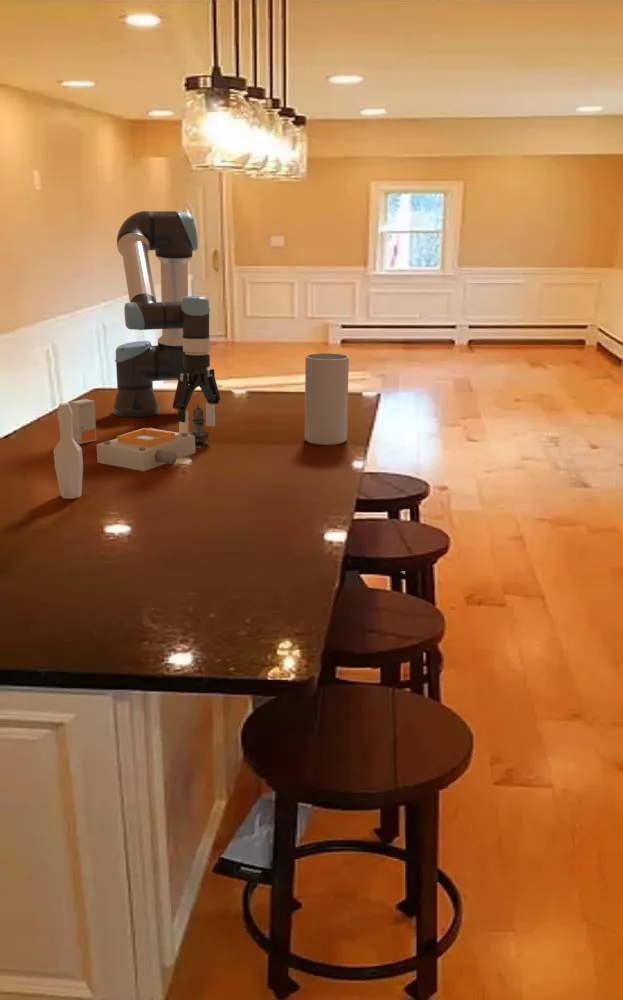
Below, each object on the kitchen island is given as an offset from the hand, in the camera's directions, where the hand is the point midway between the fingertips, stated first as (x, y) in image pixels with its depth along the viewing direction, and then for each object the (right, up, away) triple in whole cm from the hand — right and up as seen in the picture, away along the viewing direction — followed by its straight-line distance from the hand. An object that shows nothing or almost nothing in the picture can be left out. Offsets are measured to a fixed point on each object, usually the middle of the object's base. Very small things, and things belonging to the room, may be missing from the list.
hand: (197, 429), depth 251 cm
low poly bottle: (-24, -19, -44) cm, 54 cm away
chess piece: (0, -5, +2) cm, 5 cm away
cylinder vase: (+37, -3, +10) cm, 38 cm away
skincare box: (-34, -3, +5) cm, 34 cm away
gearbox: (-10, -9, -12) cm, 18 cm away
